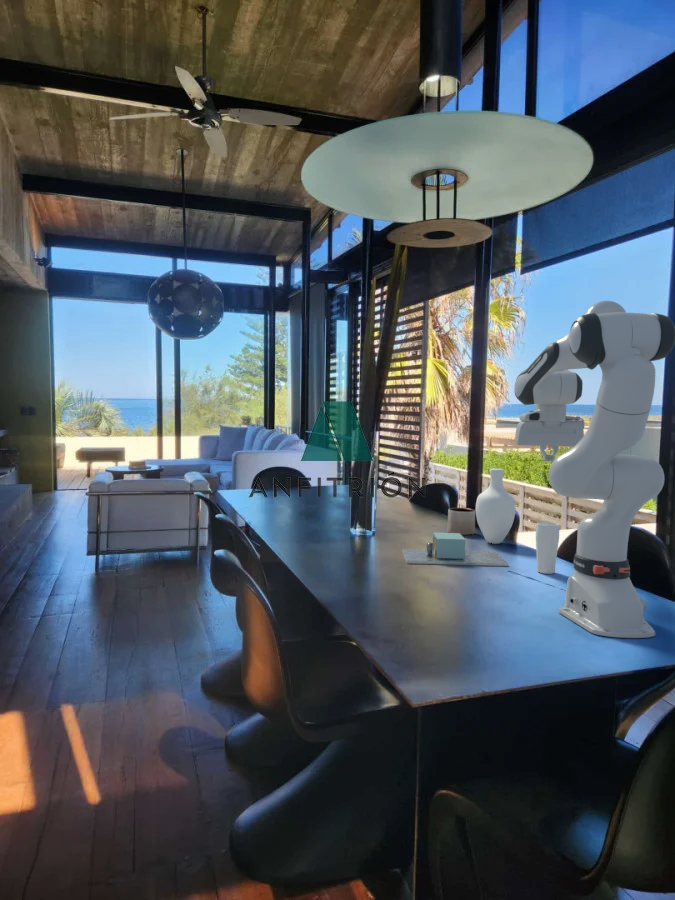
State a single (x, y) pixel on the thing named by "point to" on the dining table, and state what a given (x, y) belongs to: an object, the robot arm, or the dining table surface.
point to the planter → (461, 521)
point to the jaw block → (435, 547)
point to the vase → (495, 509)
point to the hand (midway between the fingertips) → (548, 460)
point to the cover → (450, 545)
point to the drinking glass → (546, 546)
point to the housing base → (470, 558)
